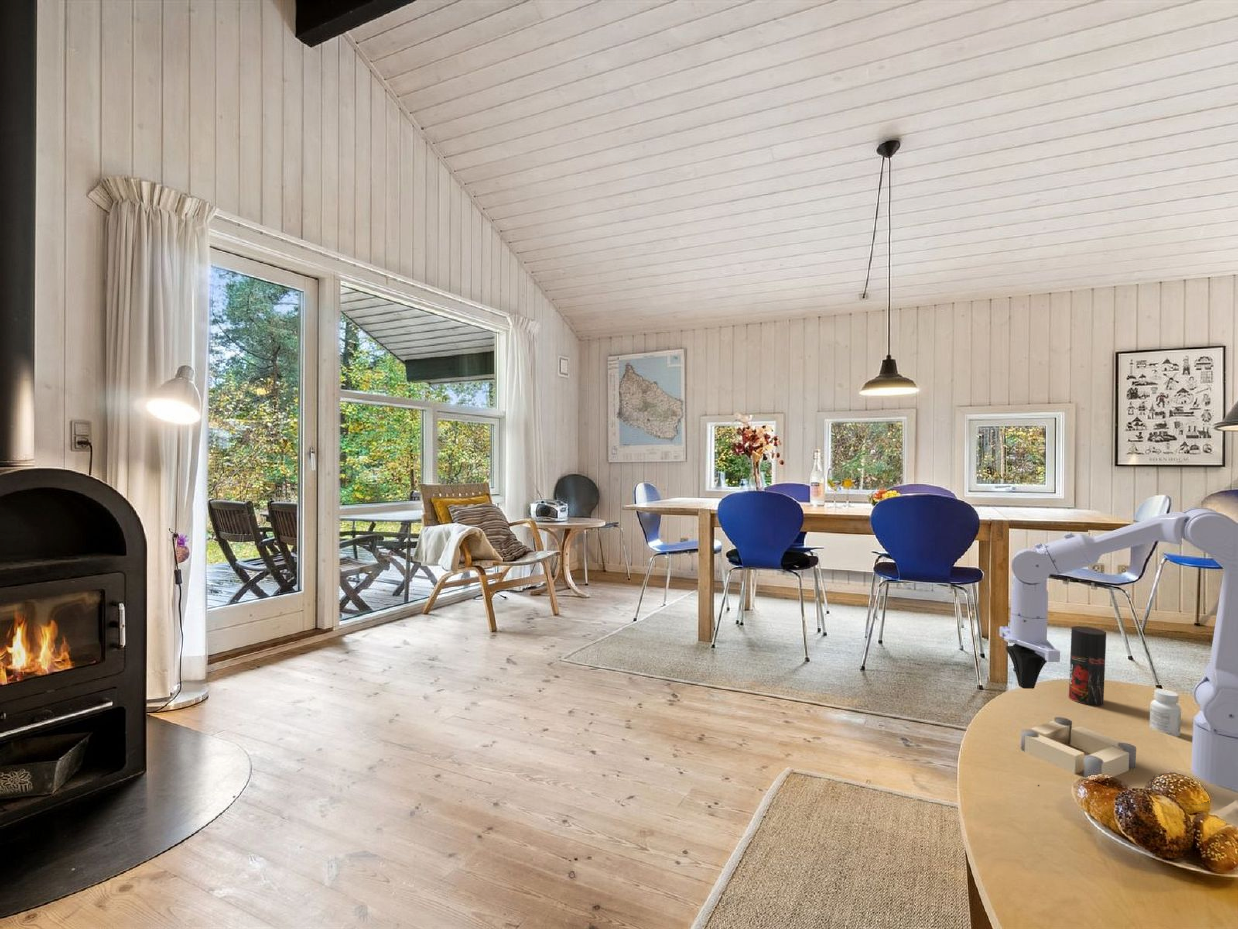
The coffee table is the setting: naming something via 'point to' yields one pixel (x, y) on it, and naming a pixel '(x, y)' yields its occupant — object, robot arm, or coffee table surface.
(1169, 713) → the pill bottle
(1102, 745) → the hinged beam frame
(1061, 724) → the beige long rectangular block
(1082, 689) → the deodorant
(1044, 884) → the coffee table surface
